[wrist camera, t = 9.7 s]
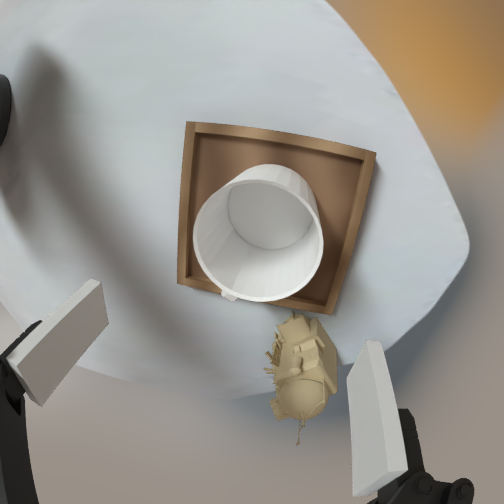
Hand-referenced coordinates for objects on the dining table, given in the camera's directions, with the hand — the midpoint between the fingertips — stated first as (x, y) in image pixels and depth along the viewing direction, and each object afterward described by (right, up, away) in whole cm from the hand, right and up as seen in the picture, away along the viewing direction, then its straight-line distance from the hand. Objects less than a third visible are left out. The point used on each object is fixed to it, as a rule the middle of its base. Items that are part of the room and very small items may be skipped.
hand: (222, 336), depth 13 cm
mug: (+2, +7, +16) cm, 18 cm away
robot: (+7, -8, +23) cm, 25 cm away
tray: (+3, +7, +17) cm, 19 cm away
